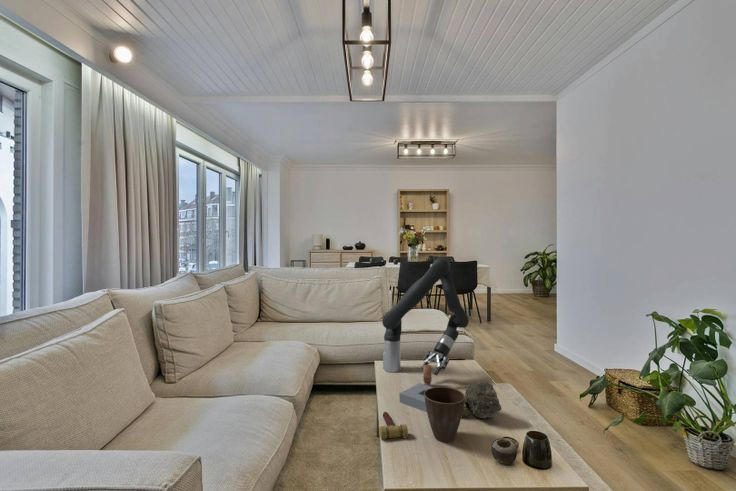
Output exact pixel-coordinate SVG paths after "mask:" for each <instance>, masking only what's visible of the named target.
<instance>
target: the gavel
mask: <svg viewBox="0 0 736 491" xmlns="http://www.w3.org/2000/svg"><path fill="white" fill-rule="evenodd" d="M382 417H383V420H384V422H385V424H386V425H380V426H379V437H380V440H382V441H383V440H387V439H394V438H395V439H397V438H402V439H405V438H406V439H407V438H408V436H409V430H408V427H407V426H408V425H407V424H406V423H402V424H400V425H395V424H394V422H393V421H392V420H393V419H391V416H390V414H389V412H387V411H385V410H384V411H383V413H382Z"/></svg>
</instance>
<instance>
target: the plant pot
mask: <svg viewBox="0 0 736 491" xmlns="http://www.w3.org/2000/svg"><path fill="white" fill-rule="evenodd" d="M432 387H433V386H432ZM424 397H425V404H426V410H427V412H426V414H427V419H428V421H429V425H430V429H431V431H432V433H433V438H434V439H435V440H436V441H439V442H443V443H450V442H452V441H454V440H455V438H456V435H457V433H458V430H459V427H460V424H461V420H462V418H463V417H462V412H463V406H464V400H465V393H463V392H462V391H461V390H458V389H455V388H452V387H445V386H436V387H435V386H434V387H433V388H430V389H427V390H426V391H425V392H424Z"/></svg>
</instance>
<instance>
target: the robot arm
mask: <svg viewBox="0 0 736 491" xmlns="http://www.w3.org/2000/svg"><path fill="white" fill-rule="evenodd" d="M439 280H440V282H441V287H442V290H443V295H444V299H445V303H446V306H447V308H448V311H449V312H451V313H453V314H452V315H451V316H450V317H449V319H448V321H447V325H446V328H445V330H444V332H443V334H442V336H440V338H439V339H438V342H437V343H436V345H435V346H434V348H433V352H432V351H431V350H427V352H426V353H425V355H424V356H423V357H422V360H423V361H424V362H423V364H422V365H421V370H422V371H423V366H424V365H430V364H433V363H434V364H435V363H436V365H437V366H436V367H435V368H434V369H435V370H434V371H433V375H434V376H437V375H439V373H440V371H441V370H446V367H447V366H448V364H449V362H450V358H449V357H448V355H449V354H450V352H451V350H452V348H453V347H454V344H455V342H456V340H457V339H458V337H459V334H460V333H459V331H458V330H457V329H458V328H463V329H464V328H467V327H468V325H469V321H470V320H469V317H468V314H467V313H466V311H465V309H464V308H463V306H462V303H461V301H460V298H459V294H458V293H457V290H456V287H455V284H454V281H453V277H452V271H451V263H450V261H449V259H448V258H446V257H444V256H438V257H437V258H435V259H434V261H433V262H432V264H431V265H430V268H429V269H428V270H427V271H426V272H425V274H424V275H423V276H422V277H420V278H419V279H417V280H416V281H415V282H414V283H413V284H412V285H411V286H410V287H409V288H408V289H407V291H405V292H404V294H403V295H402V296H401V298H400V299H399V301H398V302H397V303H396V304H395V305H394V306H393V307H392V308H391V309H390V310H389V311H388V312H386V313H384V315H383V316H382V320H381V323H382V326H383V327H384V328H385V333H384V336H383V341H384V342H383V344H384V345H383V348H384V349H383V351H384V352H382V368H383V370H384V371H385V372H386V373H387V372H388V373H398V372H400V371H401V369H402V368H401V367H402V366H401V361H402V360H401V359H402V358H401V336H402V324H403V323H402V319H403V317H405V315H406V314H408V313H409V312H410V311H411V310H412V309H414V308H416V306H417V305H418V304H419V303H421V301H422V300H423V299H424V298H425V297H426V296H427V295H428V294H429V292H430V291H431V289H432V288H433V286H435V284H436V283H438V281H439Z"/></svg>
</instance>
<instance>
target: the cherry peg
mask: <svg viewBox="0 0 736 491" xmlns="http://www.w3.org/2000/svg"><path fill="white" fill-rule="evenodd" d="M422 366H423V365H422ZM422 373H423V376H422V377H423V384H424V385H428V386H431V387H432V385H431V384H432V383H431V382H432V380H433V379H432V378H433V377H432V365H430V364H428V365H424V366H423V370H422Z"/></svg>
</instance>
